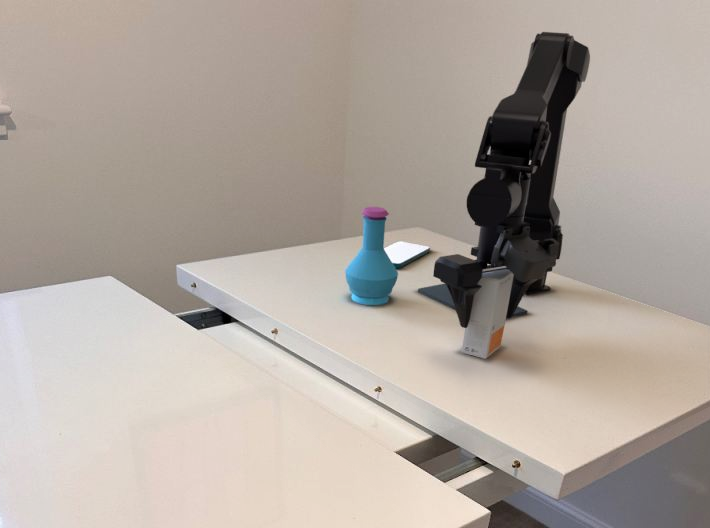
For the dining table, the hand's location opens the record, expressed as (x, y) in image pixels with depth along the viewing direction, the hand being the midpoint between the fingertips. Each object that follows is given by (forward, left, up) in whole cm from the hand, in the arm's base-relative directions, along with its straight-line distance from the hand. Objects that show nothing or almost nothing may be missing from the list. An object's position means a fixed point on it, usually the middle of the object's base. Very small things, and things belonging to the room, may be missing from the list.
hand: (486, 322), depth 108 cm
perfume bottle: (+2, -27, -5) cm, 28 cm away
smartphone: (-18, -45, -5) cm, 49 cm away
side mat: (-13, -17, -5) cm, 22 cm away
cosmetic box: (0, 0, -5) cm, 5 cm away
